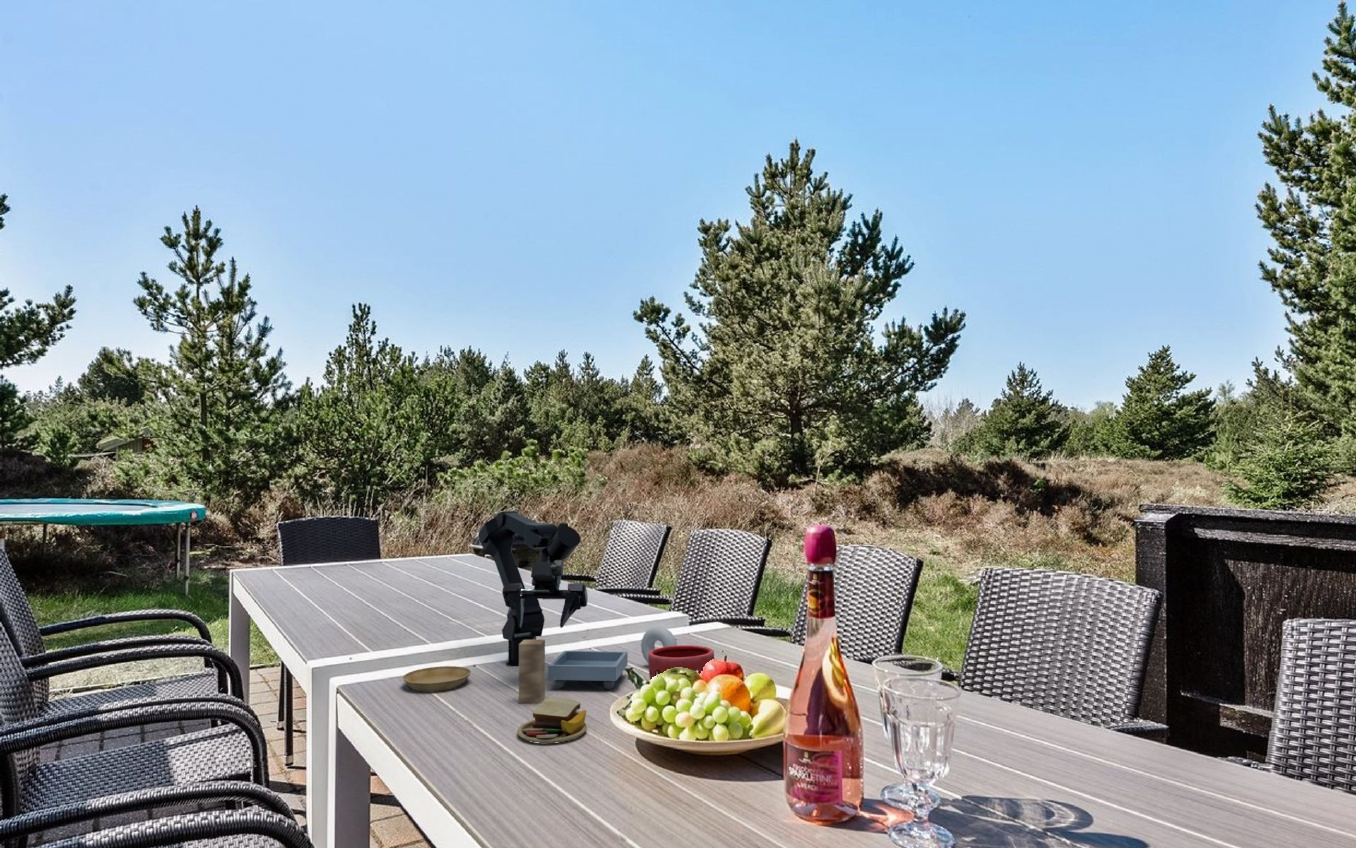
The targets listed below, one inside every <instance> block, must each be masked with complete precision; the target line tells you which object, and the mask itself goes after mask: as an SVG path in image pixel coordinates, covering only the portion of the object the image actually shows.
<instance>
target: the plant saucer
mask: <svg viewBox="0 0 1356 848" xmlns="http://www.w3.org/2000/svg"><path fill="white" fill-rule="evenodd" d="M471 674H472V670H471V669H469V668H467V667H463V666H455V665H451V666H450V665H444V666H443V665H442V666H440V665H439V666H431V667H425V668H419V669H416V670H411V671H409V672H407V673H405V674H404V675H403V676H402V679H403V681H404V683H405V684H407V686H408V687H410V688H411V689H412V690H414V691H418V692H428V693H429V692H430V693H431V692H443V691H449V690H452V689H456V688H458V687H460V686H461V685H462V684H464V683H465V682H466V681H467V679H468V678H469V676H470V675H471Z"/></svg>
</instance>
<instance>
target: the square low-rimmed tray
mask: <svg viewBox="0 0 1356 848" xmlns="http://www.w3.org/2000/svg"><path fill="white" fill-rule="evenodd" d="M628 657H629V656H628V651H608V650H607V651H603V650H601V651H599V650H596V651H595V650H564V651H563V652H561V654H560V655H558V656H557V657H556V658H555V659H554V660H553V661H551V663H550V664H548V667H547V671H548V672H547V674H548V675H547V679H548V680H550V681H551V680H552V681H553V680H554V682H553V685H554V687H555V688H557V689H558V690H560V689H561V690H562V689H563V688H564V687H565V686H566V681H590V682H591V681H593V682H594V681H597V682H598V681H599V682H603V688H604V689H605V690H608V691H610V690H612V689H613V688H614V687H615V682H617V680H618V679H619V678H620V677H622V676H623V672H624V670H625V669H626V668H627V666H628V664H629V663H628V661H629V659H628Z"/></svg>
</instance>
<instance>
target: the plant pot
mask: <svg viewBox="0 0 1356 848" xmlns="http://www.w3.org/2000/svg"><path fill="white" fill-rule="evenodd" d="M712 659H714V660H715V651H714V650H713V649H712V648H710V647H707V646H701V645H692V644H691V645H687V644H686V645H684V644H683V645H681V644H680V645H678V644H677V646H667V647H663V646H662V647H657V648H655V649H654V650H652V651H650V652H649V654H648V663H649V664H648V663H647V664H648V672H649V673H648V674H649V681H650V680H651V679H652V677H654V676H656V675H657V676H658V674H660V673H663V672H664V671H666V670H667V669H671V668H674V667H683V668H688V669H691V670H694V671H696V672H697V673H699V674H700V673H701V671H703V667H704V666H705V664H706V663H707V662H709V661H710V660H712Z"/></svg>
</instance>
